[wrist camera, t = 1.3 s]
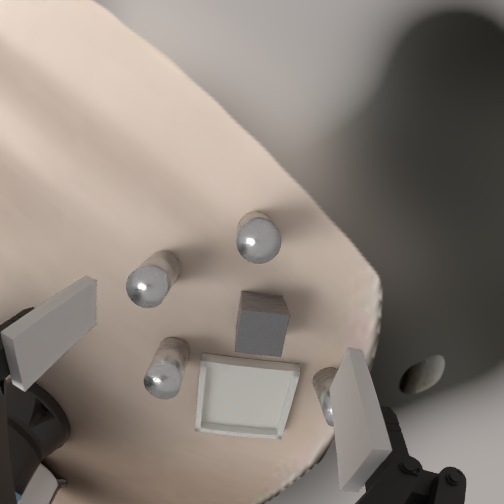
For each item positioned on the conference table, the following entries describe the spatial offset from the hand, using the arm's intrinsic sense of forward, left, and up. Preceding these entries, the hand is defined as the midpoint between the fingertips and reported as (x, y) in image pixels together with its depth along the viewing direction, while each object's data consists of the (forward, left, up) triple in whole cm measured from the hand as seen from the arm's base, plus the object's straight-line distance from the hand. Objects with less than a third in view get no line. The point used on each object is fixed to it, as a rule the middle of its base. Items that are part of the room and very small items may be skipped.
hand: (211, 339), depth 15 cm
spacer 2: (-14, +5, -23) cm, 27 cm away
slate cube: (-7, -5, -23) cm, 24 cm away
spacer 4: (-16, -16, -23) cm, 32 cm away
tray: (-20, -5, -23) cm, 31 cm away
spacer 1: (-3, +7, -23) cm, 24 cm away
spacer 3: (+3, -3, -23) cm, 23 cm away
